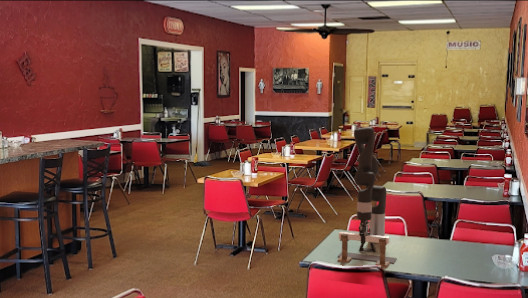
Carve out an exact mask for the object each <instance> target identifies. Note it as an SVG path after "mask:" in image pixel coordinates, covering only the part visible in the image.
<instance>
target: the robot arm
mask: <svg viewBox="0 0 528 298" xmlns="http://www.w3.org/2000/svg"><path fill="white" fill-rule="evenodd" d="M353 137H354V141H355V145H356V147H357V151H358V152H357V153H358V154H359V155H358V156H359V157H358V162H357V163H358V167H357V170H356V173H355V176H354V183H355V184H356V186H365V189H360V190H358V191H357V204H356V219H357V220H359V221H360V223H359V226H358V234H359V235H360V236H361V241H360V245H361V244H364V245H365V244H366V242H365V236H366V235H365V234H367V233H369V231H368V229H370V230H371V232H370V234H371V235H377V236H386V235H385V232H386V231H385V229H386V228H385V227H386V225H385V224H386V203H387V188H386V186H382V185H375V182H376V176H377V175H378V173H379V163H378V160H377V158H376V156H375V155H374V150H375V149H374V147H375V144H376V143H375V142H376V132H375V129H374V128H373V127H372V126H366V127H359V128H356V129H354V131H353ZM365 145H366V146H365ZM372 202H378V204H377V205H373V204H372ZM374 244H375V242H374Z"/></svg>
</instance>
